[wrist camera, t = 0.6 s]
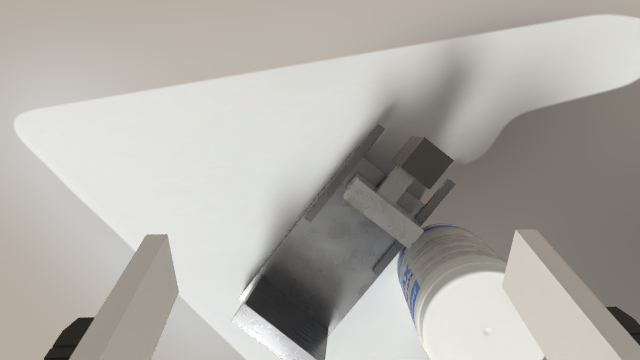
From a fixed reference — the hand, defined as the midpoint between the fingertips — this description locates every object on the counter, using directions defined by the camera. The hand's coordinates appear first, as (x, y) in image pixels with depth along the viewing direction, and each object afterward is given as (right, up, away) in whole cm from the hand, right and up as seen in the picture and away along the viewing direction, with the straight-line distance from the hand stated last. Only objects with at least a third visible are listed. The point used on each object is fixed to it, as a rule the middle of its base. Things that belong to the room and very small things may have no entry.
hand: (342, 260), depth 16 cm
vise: (+2, -3, +29) cm, 29 cm away
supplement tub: (+12, -6, +29) cm, 32 cm away
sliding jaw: (+7, +3, +25) cm, 26 cm away
